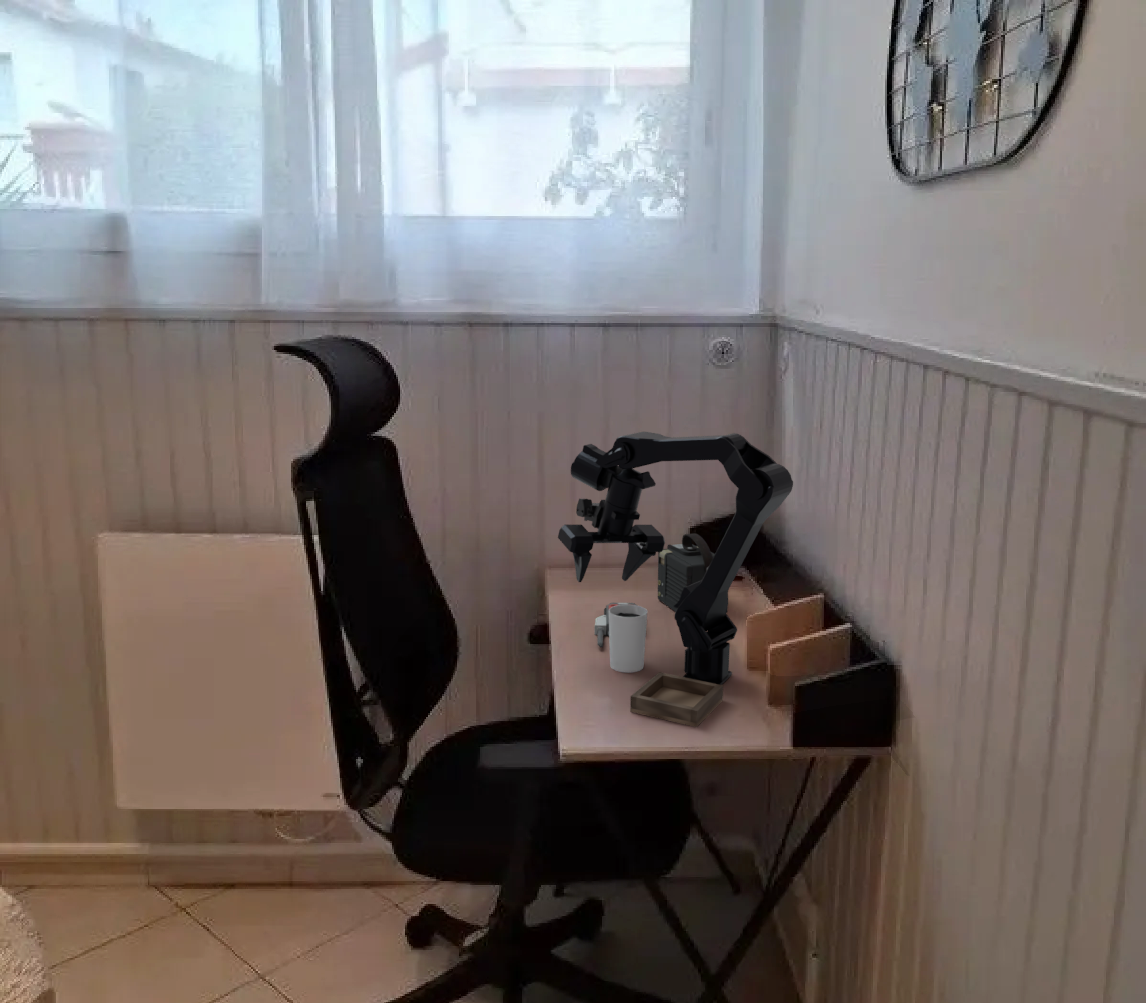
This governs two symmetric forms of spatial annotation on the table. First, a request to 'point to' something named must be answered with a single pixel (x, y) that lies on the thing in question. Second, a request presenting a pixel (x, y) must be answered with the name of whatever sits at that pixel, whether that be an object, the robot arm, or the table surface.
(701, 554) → the camera
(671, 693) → the frame
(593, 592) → the table surface
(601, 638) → the walkie-talkie
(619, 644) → the white cup
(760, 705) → the table surface
